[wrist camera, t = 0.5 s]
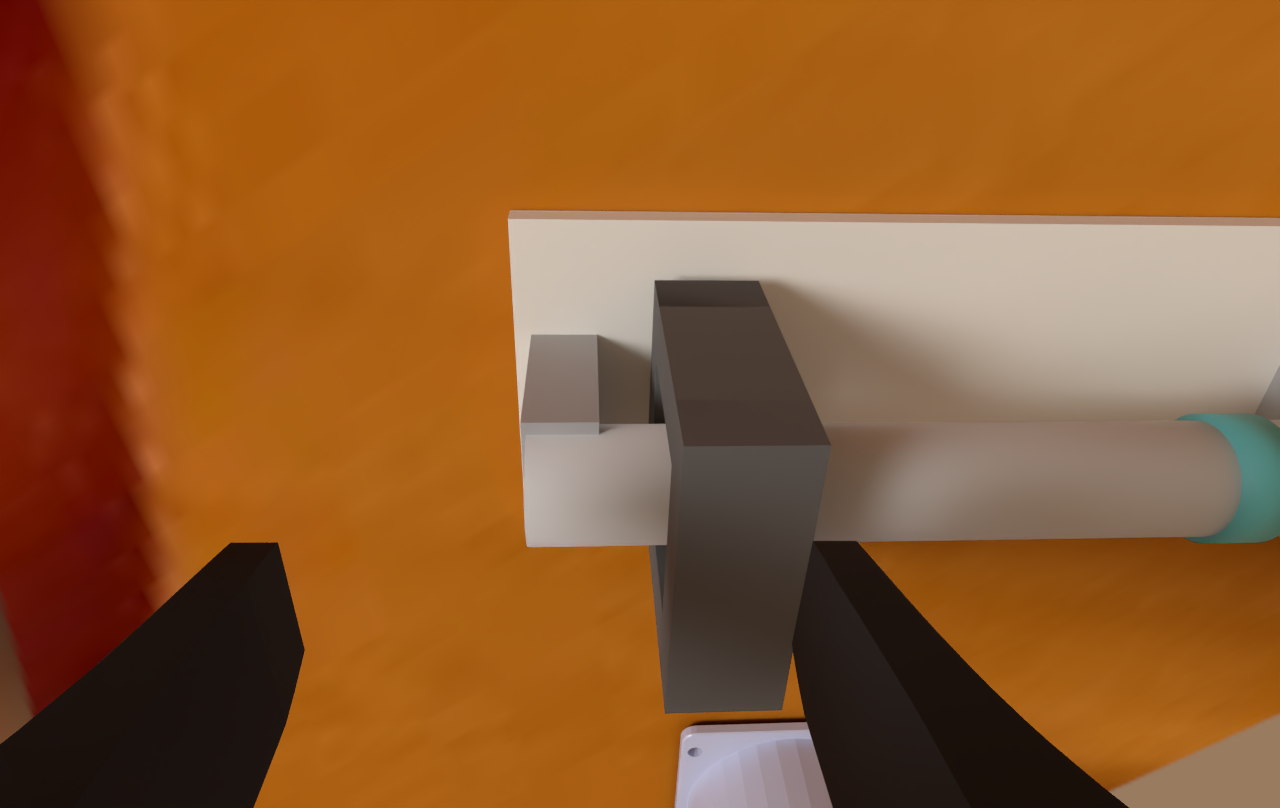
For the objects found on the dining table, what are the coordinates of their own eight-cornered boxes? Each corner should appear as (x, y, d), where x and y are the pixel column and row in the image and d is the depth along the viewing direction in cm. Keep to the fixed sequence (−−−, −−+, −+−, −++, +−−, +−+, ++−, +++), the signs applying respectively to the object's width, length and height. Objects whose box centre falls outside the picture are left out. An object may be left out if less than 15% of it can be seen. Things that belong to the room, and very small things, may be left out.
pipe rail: (1407, 219, 20) (1679, 328, 15) (1252, 504, 25) (1419, 658, 20) (509, 209, 19) (482, 326, 14) (527, 513, 24) (511, 682, 19)
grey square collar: (758, 280, 19) (831, 445, 13) (733, 504, 22) (782, 709, 17) (654, 280, 19) (683, 446, 13) (645, 506, 22) (665, 713, 17)
